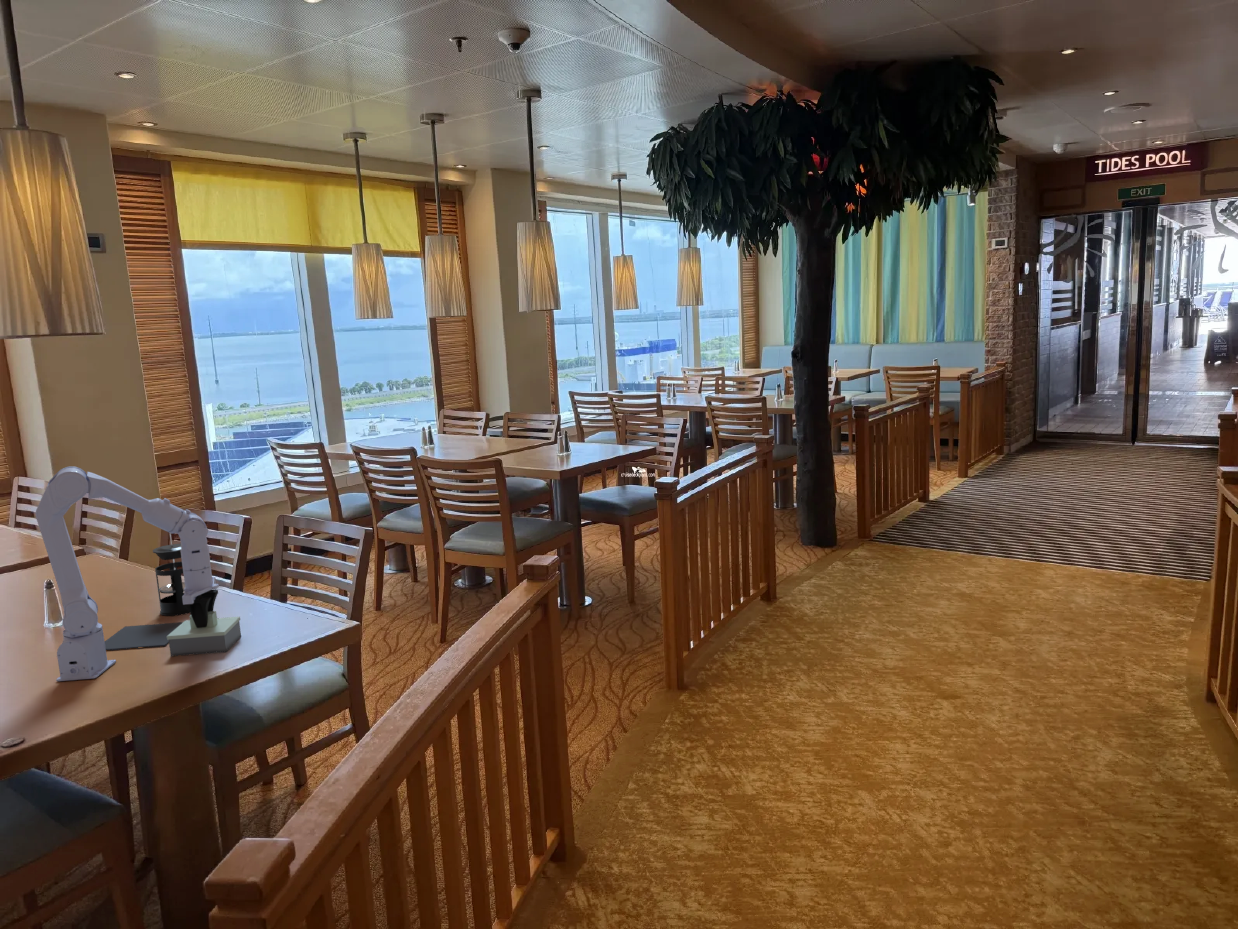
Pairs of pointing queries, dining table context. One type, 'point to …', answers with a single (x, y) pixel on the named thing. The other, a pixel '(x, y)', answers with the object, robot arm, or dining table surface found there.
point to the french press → (173, 602)
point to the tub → (205, 643)
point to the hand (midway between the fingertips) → (204, 624)
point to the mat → (141, 636)
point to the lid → (213, 627)
